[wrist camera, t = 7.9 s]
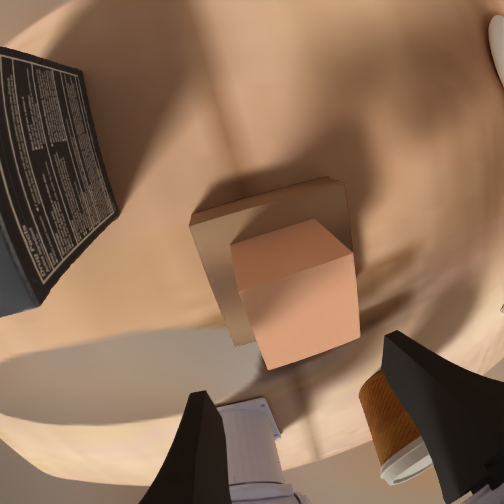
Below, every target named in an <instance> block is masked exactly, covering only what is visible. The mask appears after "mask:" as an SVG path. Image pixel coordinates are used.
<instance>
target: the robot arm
mask: <svg viewBox="0 0 504 504" xmlns="http://www.w3.org/2000/svg"><path fill="white" fill-rule="evenodd" d="M381 369H382V371H383V373H384V375H385V377H386V379H387V381H388V383H389V385H390V387H391V389H392V390H393V392H394V393H395V395H396V396H397V398H398V399H399V401H400V402H401V404H402V405H403V407H404V408H405V410H406V411H407V413H408V414H409V416H410V417H411V419H412V420H413V422H414V423H415V425H416V427H417V429H418V430H419V432H420V434H421V437H422V439H423V441H424V443H425V445H426V447H427V450H428V452H429V455H430V457H431V459H432V462H433V465H434V468H435V470H436V473H437V476H438V479H439V483H440V486H441V489H442V494H443V498H444V501H445V503H446V504H451V503H452V502H454V501H456V500H457V499H458V498H460V497H462V496H463V495H465V494H466V493H468V492H469V491H470V490H471V492H472V494H473V495H472V496H471V497H469V498H468V499H467V500H465V501H464V502H462V503H461V504H504V382H501V381H497V380H493V379H490V378H487V377H484V376H481V375H479V374H476V373H474V372H471V371H469V370H466V369H464V368H462V367H460V366H458V365H456V364H454V363H452V362H450V361H448V360H446V359H444V358H442V357H441V356H439V355H437V354H435V353H434V352H432V351H430V350H429V349H427V348H425V347H424V346H422V345H420V344H419V343H417V342H416V341H414V340H412V339H411V338H409V337H408V336H406V335H404V334H403V333H401V332H400V331H398V330H396V331H394V332H392V333H389V334H387V335H385V336H384V347H383V357H382V366H381ZM279 439H281V435H280V432H279V430H278V427H277V425H276V423H275V420H274V418H273V415H272V413H271V410H270V408H269V405H268V403H267V400H266V399H265V398H263V397H261V398H257V399H253V400H249V401H244V402H240V403H236V404H231V405H226V406H222V407H217V408H216V407H215V405H214V403H213V402H212V400H211V399H210V397H209V395H208V393H207V392H206V390H205V391H199V392H194V393H191V394H190V395H189V398H188V401H187V404H186V407H185V410H184V413H183V416H182V419H181V422H180V425H179V428H178V430H177V433H176V436H175V438H174V441H173V443H172V446H171V448H170V450H169V452H168V454H167V457H166V459H165V461H164V463H163V465H162V467H161V469H160V471H159V473H158V474H157V476H156V478H155V480H154V481H153V483H152V485H151V486H150V488H149V489H148V491H147V493H146V494H145V495H144V497H143V498H142V499H141V501H140V502H139V504H312V503H311V502H310V500H309V499H308V497H306V496H305V495H303V494H302V493H301V492H300V491H293V488H292V485H291V484H285V481H284V477H283V473H282V469H281V464H280V460H279V456H278V452H277V448H276V444H275V441H276V440H279Z"/></svg>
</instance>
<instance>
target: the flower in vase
mask: <svg viewBox="0 0 504 504" xmlns="http://www.w3.org/2000/svg"><path fill="white" fill-rule="evenodd" d="M488 32H489V43H490V48H491V53H492V57H493V60H494V64H495V67H496V70H497V73H498V75H499V78H500V80H501V82H502V85H503V87H504V16H501V15H495V16H494V17H493V18H492V20H491V22H490V24H489V30H488Z"/></svg>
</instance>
